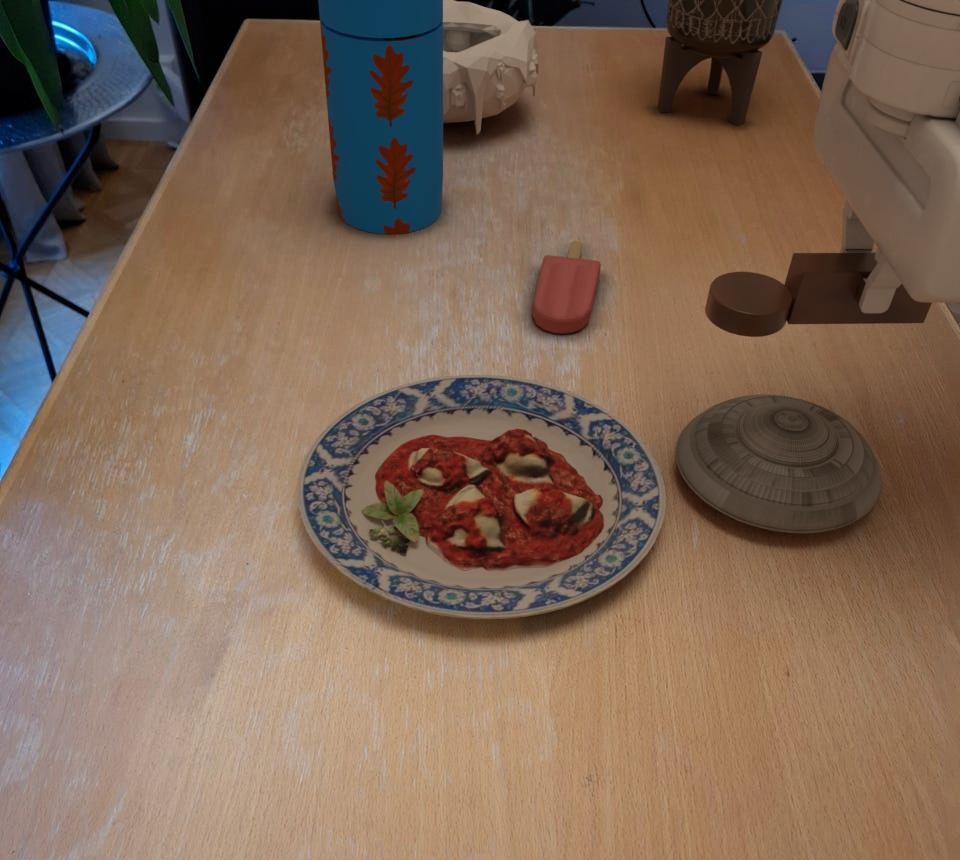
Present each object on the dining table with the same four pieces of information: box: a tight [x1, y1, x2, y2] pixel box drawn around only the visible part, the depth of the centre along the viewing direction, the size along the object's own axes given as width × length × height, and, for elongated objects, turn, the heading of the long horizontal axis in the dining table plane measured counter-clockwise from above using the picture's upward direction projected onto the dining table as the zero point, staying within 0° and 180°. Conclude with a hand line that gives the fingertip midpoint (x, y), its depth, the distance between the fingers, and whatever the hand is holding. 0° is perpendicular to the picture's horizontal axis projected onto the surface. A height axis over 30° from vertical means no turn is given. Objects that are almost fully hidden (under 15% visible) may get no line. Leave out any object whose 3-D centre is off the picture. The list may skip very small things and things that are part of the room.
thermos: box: [317, 0, 444, 235], centre depth 91 cm, size 11×11×25 cm
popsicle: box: [531, 240, 602, 335], centre depth 90 cm, size 5×2×15 cm
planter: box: [657, 0, 784, 126], centre depth 112 cm, size 13×13×18 cm
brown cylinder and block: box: [704, 252, 933, 338], centre depth 63 cm, size 14×5×4 cm, turn 94°
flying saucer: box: [675, 393, 883, 534], centre depth 72 cm, size 15×15×6 cm
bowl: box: [443, 0, 540, 135], centre depth 112 cm, size 21×20×10 cm
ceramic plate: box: [296, 374, 667, 620], centre depth 70 cm, size 26×26×3 cm
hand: (859, 291), depth 63 cm, fingers closed on brown cylinder and block, 2 cm apart
